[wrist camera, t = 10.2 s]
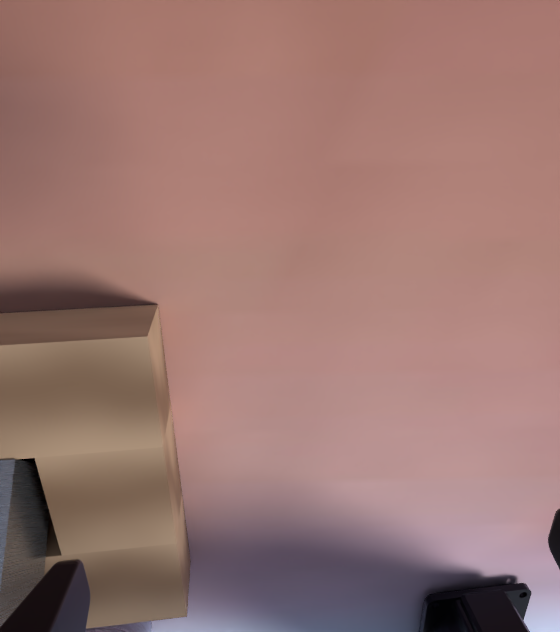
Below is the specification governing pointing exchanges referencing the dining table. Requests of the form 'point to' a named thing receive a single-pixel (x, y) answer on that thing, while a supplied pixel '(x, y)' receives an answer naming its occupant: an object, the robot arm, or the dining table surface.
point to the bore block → (100, 452)
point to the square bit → (21, 532)
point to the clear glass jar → (124, 628)
